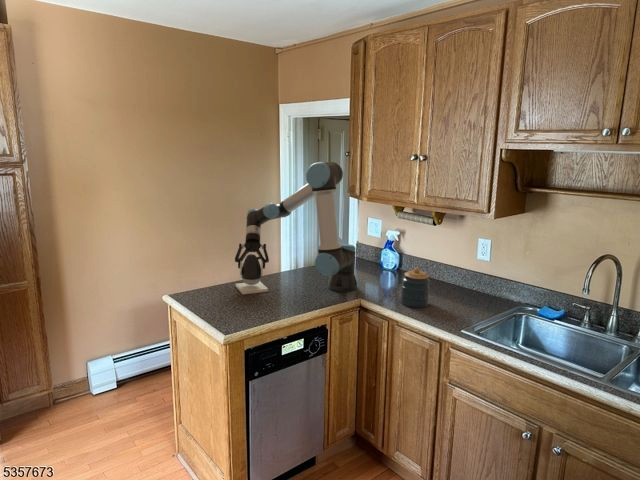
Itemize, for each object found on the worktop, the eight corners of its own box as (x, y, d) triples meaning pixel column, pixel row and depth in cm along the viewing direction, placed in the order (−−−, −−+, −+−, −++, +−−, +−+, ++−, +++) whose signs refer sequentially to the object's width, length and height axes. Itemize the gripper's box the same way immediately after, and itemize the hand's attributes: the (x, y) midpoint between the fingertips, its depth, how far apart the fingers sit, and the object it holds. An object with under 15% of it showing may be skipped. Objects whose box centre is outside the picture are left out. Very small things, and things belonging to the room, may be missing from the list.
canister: (411, 309, 202) (414, 272, 198) (394, 300, 214) (397, 265, 210) (433, 306, 208) (437, 270, 204) (416, 297, 219) (419, 263, 215)
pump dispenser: (260, 287, 218) (260, 257, 215) (239, 286, 218) (239, 256, 215) (263, 280, 228) (263, 252, 224) (243, 280, 228) (243, 251, 225)
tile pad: (268, 291, 220) (268, 288, 220) (242, 294, 215) (242, 291, 215) (260, 283, 232) (260, 281, 232) (235, 286, 226) (235, 283, 226)
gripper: (274, 240, 235) (273, 277, 223) (232, 239, 233) (229, 277, 221) (274, 232, 228) (273, 270, 216) (230, 231, 226) (227, 270, 214)
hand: (251, 273), depth 218 cm, fingers closed on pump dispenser, 9 cm apart
